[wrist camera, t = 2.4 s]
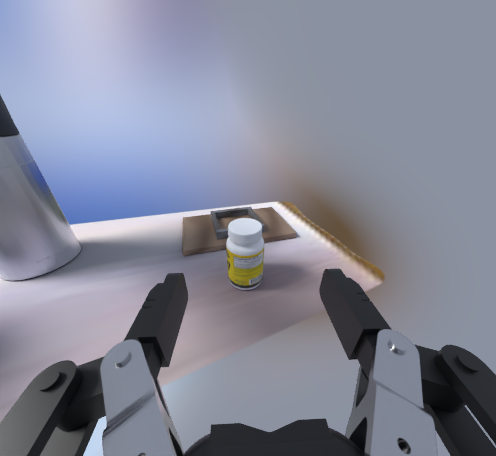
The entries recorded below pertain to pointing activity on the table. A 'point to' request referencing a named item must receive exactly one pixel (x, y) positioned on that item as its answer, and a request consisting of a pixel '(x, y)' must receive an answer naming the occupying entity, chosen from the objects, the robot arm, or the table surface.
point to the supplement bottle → (245, 253)
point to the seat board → (216, 228)
